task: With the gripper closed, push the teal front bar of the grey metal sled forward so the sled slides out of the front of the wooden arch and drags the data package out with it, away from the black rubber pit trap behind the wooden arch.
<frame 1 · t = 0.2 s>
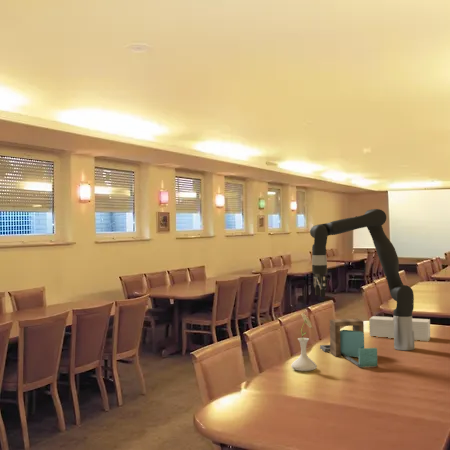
hand: (320, 295, 259), 29 cm above the table, tool pointing down, fingers open, 8 cm apart
white long block: (399, 338, 294), on the table
data package: (351, 356, 251), resting in sled, touching wooden arch
flower in vase: (304, 369, 228), on the table
sled: (355, 350, 243), point 4 cm above the table, slide at 1.6 cm, touching data package
wooden arch: (347, 354, 255), on the table
pit trap: (339, 349, 266), on the table
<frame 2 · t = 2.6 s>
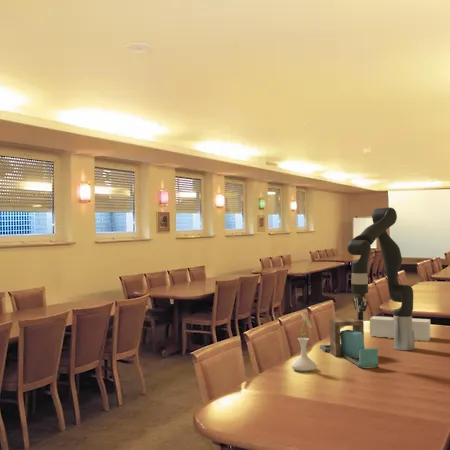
hand: (360, 320, 237), 20 cm above the table, tool pointing down, fingers closed
data package: (353, 356, 250), resting in sled
sled: (356, 350, 243), point 5 cm above the table, slide at 2.1 cm, touching data package
everything else where it was.
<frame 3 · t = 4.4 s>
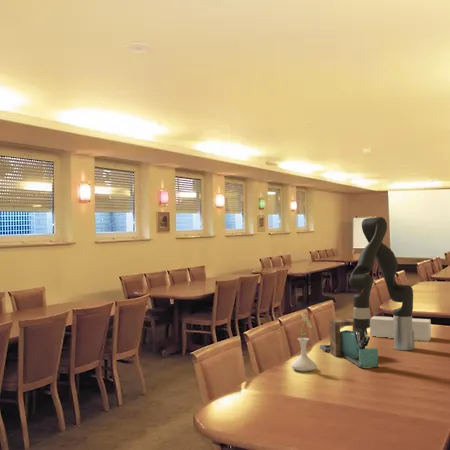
hand: (362, 354, 235), 4 cm above the table, tool pointing down, fingers closed
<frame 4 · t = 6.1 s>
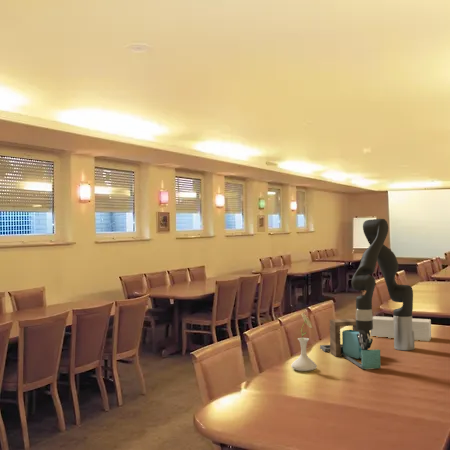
hand: (365, 356, 232), 4 cm above the table, tool pointing down, fingers closed
data package: (354, 356, 248), resting in sled
sled: (358, 352, 240), point 5 cm above the table, slide at 4.8 cm, touching data package
everything else where it was.
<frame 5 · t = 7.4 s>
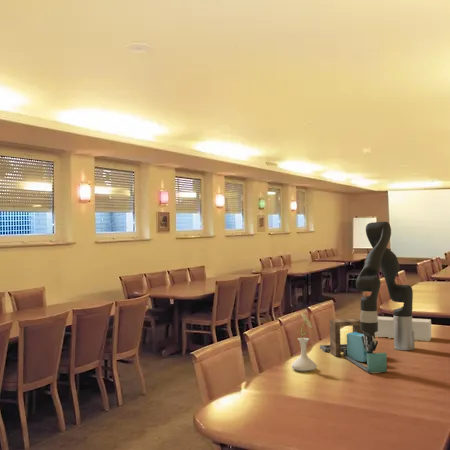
hand: (369, 359, 227), 4 cm above the table, tool pointing down, fingers closed
data package: (359, 359, 242), resting in sled
sled: (363, 355, 234), point 5 cm above the table, slide at 11.1 cm, touching data package
everything else where it was.
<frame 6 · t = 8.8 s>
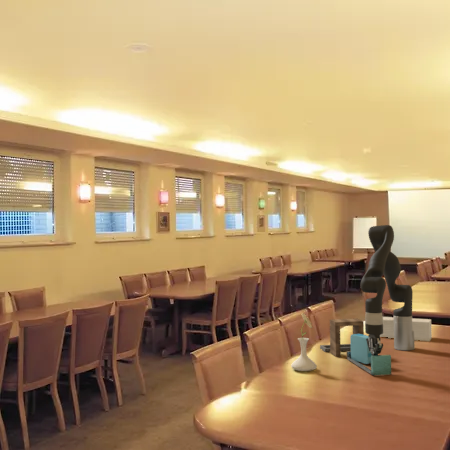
hand: (374, 362, 222), 4 cm above the table, tool pointing down, fingers closed
data package: (362, 361, 238), resting in sled
sled: (367, 357, 230), point 4 cm above the table, slide at 15.2 cm, touching data package
everything else where it was.
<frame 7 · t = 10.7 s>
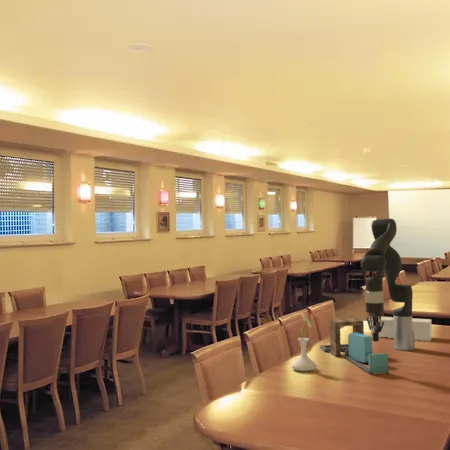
hand: (375, 341, 221), 14 cm above the table, tool pointing down, fingers closed
data package: (360, 360, 240), resting in sled
sled: (364, 355, 233), point 5 cm above the table, slide at 12.4 cm, touching data package
everything else where it was.
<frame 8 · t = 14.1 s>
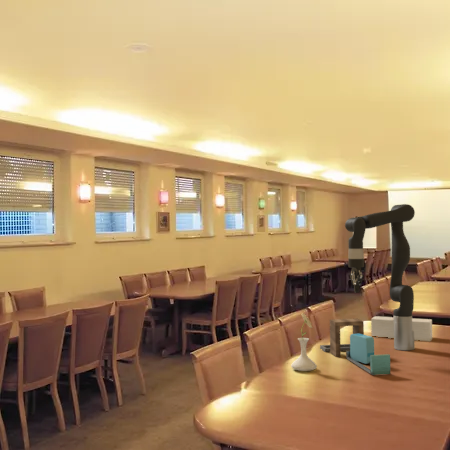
hand: (356, 292, 254), 31 cm above the table, tool pointing down, fingers closed
data package: (362, 361, 238), resting in sled
sled: (366, 356, 231), point 5 cm above the table, slide at 14.4 cm, touching data package
at the end: sled slide at 11.6 cm; data package inside the target area (1.2 cm from its centre), point 0.5 cm above the table; data package tilted 0° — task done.
